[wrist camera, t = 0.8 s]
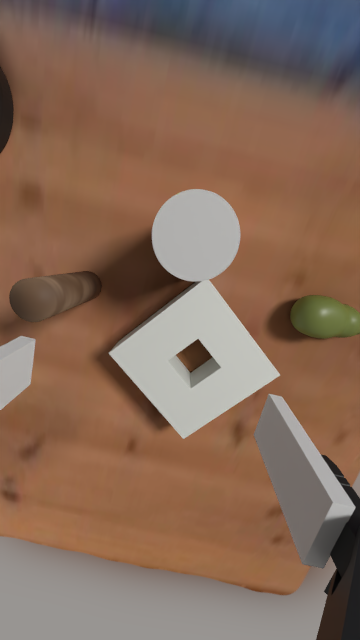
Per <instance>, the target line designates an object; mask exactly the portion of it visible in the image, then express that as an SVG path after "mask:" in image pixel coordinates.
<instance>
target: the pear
mask: <svg viewBox="0 0 360 640" xmlns="http://www.w3.org/2000/svg"><path fill="white" fill-rule="evenodd" d="M290 318H291V322H292V324H293V326H294V327H295V328H296V329H297V330H298V331H299V332H301V333H303V334H305V335H308V336H311V337H315V338H331V337H350V336H354V335H357V334H360V313H359V312H358V311H357V310H355V309H354V308H352V307H350V306H348V305H346V304H341V303H340V302H339V301H337V300H335V299H333V298H330V297H326V296H320V295H309V296H305V297H302V298H300V299H299V300H297V301H296V302H295V304H294V305H293V307H292V309H291V313H290Z"/></svg>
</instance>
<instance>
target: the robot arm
mask: <svg viewBox="0 0 360 640" xmlns="http://www.w3.org/2000/svg"><path fill="white" fill-rule="evenodd" d="M12 123H13V101H12V95H11V91H10V87H9V84H8V81H7V79H6V76H5V74H4V72H3V70H2V69H1V67H0V152H1V151H2V150H3V148H4V146H5V145H6V143H7V141H8V138H9V136H10V132H11V129H12ZM34 348H35V339H33V338H28V337H24V336H20V337H18V338H16V339H14V340H12V341H10V342H9V343H7V344H5V345H3V346H1V347H0V410H1V409H2V408H3V407H5V406H6V405H7V404H8V403H9V402H10V401H12V400H13V399H14V398H15V397H16V396H17V395H19V394H20V393H21V392H22V391H23V390H24V389H25V388H27V387H28V386H29V385H30V383H31V374H32V366H33V357H34ZM254 437H255V439H256V442H257V445H258V447H259V450H260V453H261V455H262V458H263V461H264V463H265V466H266V469H267V471H268V474H269V477H270V479H271V482H272V485H273V487H274V490H275V493H276V495H277V498H278V501H279V503H280V506H281V509H282V511H283V514H284V517H285V519H286V522H287V524H288V527H289V530H290V532H291V535H292V538H293V540H294V543H295V546H296V548H297V551H298V554H299V556H300V559H301V562H302V564H304V565H309V566H315V567H319V568H324V567H325V565H326V563H327V561H328V559H329V557H330V555H331V557H332V559H333V562H334V563H335V566H336V568H337V569H336V571H335V573H334V574H333V576H332V578H331V580H330V582H329V583H328V585H327V587H326V589H325V591H324V592H325V593H326V594H327V595H328V596H327V600H326V604H325V607H324V611H323V615H322V619H321V623H320V627H319V631H318V635H317V639H316V640H360V498H359V497H358V495H357V494H356V492H355V491H354V490H353V488H352V487H350V484H349V483H348V481H347V480H346V478H344V475H343V474H342V473H341V471H340V470H339V468H338V467H337V466H336V465H335V464H334V463H333V462H332V461H331V460H330V459H329V458H328V457H327V456H325V455H321V454H320V453H319V451H318V450H317V448H316V447H315V445H314V444H313V442H312V441H311V439H310V438H309V436H308V435H307V433H306V432H305V430H304V429H303V427H302V426H301V425H300V423H299V422H298V420H297V419H296V417H295V416H294V414H293V413H292V411H291V410H290V408H289V407H288V405H287V404H286V402H285V401H284V399H283V398H282V397H281V396H276V395H272V394H269V395H268V398H267V400H266V403H265V406H264V408H263V411H262V414H261V417H260V419H259V422H258V425H257V427H256V430H255V433H254Z"/></svg>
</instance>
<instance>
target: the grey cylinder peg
mask: <svg viewBox="0 0 360 640" xmlns="http://www.w3.org/2000/svg"><path fill="white" fill-rule="evenodd" d="M239 243H240V226H239V222H238V219H237V216H236V214H235V212H234V210H233V209H232V207H231V206H230V205H229V203H228V202H227V201H226V200H224V199H223V198H222V197H220V196H219V195H217V194H215V193H213V192H211V191H207V190H202V189H192V190H186V191H183V192H180V193H178V194H176V195H174V196H173V197H171V198H170V199H169V200H168V201H166V202H165V204H164V205H163V206H162V207H161V209H160V210H159V212H158V213H157V215H156V218H155V220H154V223H153V228H152V244H153V249H154V252H155V254H156V257H157V259H158V260H159V262H160V263H161V265H162V266H163V267H164V268H165V269H166V270H167V271H168V272H169V273H171V274H172V275H174V276H175V277H177V278H180V279H183V280H186V281H204V280H208V279H211V278H213V277H215V276H217V275H219V274H220V273H222V272H223V271H224V270H225V269H226V268H227V267H228V266H229V265H230V264H231V262H232V261H233V259H234V257H235V255H236V253H237V251H238V247H239Z"/></svg>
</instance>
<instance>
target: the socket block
mask: <svg viewBox="0 0 360 640" xmlns="http://www.w3.org/2000/svg"><path fill="white" fill-rule="evenodd" d="M197 339H199V340H200V341H201V343H202V344H203V345H204V347H205V348H206V349H207V350H208V352H209V353H210V354H211V355H212V358H211V359H210V360H208V361H207V362H205V363H204V364H202V365H201V366H200V367H198V368H197V369H195V370H194V371H193V372H191V373H190V372H189V371H188V369H187V368H186V367H185V366H184V364H183V363H182V362H181V361H180V360H179V358H178V357H177V356H176V354H177V353H179V352H180V351H182V350H183V349H184V348H186V347H187V346H188V345H190V344H191V343H193V342H194V341H195V340H197ZM109 354H110V355H111V357H112V358H113V359H114V360H115V361H116V362H117V363H118V365H119V366H120V367H121V368H122V369H123V370H124V371H125V373H126V374H127V375H128V376H129V377H130V378H131V379H132V381H133V382H134V383H135V384H136V385H137V386H138V387H139V389H140V390H141V391H142V392H143V393H144V394H145V395H146V397H147V398H148V399H149V400H150V401H151V402H152V403H153V405H154V406H155V407H156V408H157V409H158V410H159V411H160V413H161V414H162V415H163V416H164V417H165V418H166V419H167V421H168V422H169V423H170V424H171V425H172V426H173V427H174V429H175V430H176V431H177V432H178V433H179V434H180V435H181V437H182V438H183V439H184V438H186V437H187V436H189V435H190V434H192V433H193V432H195V431H196V430H198V429H199V428H201V427H202V426H204V425H205V424H207V423H208V422H210V421H211V420H213V419H214V418H216V417H218V416H219V415H221V414H222V413H224V412H225V411H227V410H228V409H230V408H231V407H233V406H234V405H236V404H237V403H239V402H240V401H242V400H243V399H245V398H246V397H248V396H249V395H251V394H252V393H254V392H255V391H257V390H258V389H260V388H261V387H263V386H264V385H266V384H268V383H269V382H271V381H272V380H274V379H275V378H277V377H278V376H280V374H279V373H278V371H277V370H276V369H275V367H274V366H273V365H272V363H271V362H270V361H269V359H268V358H267V357H266V355H265V354H264V353H263V351H262V350H261V349H260V347H259V346H258V345H257V343H256V342H255V341H254V339H253V338H252V337H251V335H250V334H249V333H248V331H247V330H246V329H245V327H244V326H243V325H242V323H241V322H240V321H239V319H238V318H237V317H236V315H235V314H234V313H233V311H232V310H231V309H230V307H229V306H228V305H227V303H226V302H225V301H224V299H223V298H222V297H221V295H220V294H219V293H218V291H217V290H216V289H215V287H214V286H213V285H212V283H211V282H210V281H209V279H208V280H204V281H196V282H195V283H193V284H192V285H191V286H189V287H188V288H187V289H186V290H184V291H183V292H182V293H180V294H179V295H178V296H177V297H175V298H174V299H173V300H171V301H170V302H169V303H168V304H166V305H165V306H164V307H162V308H161V309H160V310H158V311H157V312H156V313H155V314H153V315H152V316H151V317H149V318H148V319H147V320H146V321H144V322H143V323H142V324H140V325H139V326H138V327H136V328H135V329H134V330H133V331H131V332H130V333H129V334H127V335H126V336H125V337H124V338H122V339H121V340H120V341H118V343H117V344H116V345H115V346H114V347H113V349H112V350H111V351H110V352H109Z"/></svg>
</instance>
